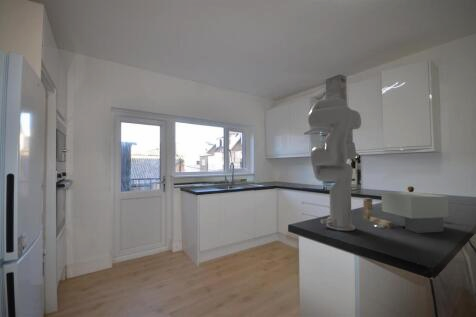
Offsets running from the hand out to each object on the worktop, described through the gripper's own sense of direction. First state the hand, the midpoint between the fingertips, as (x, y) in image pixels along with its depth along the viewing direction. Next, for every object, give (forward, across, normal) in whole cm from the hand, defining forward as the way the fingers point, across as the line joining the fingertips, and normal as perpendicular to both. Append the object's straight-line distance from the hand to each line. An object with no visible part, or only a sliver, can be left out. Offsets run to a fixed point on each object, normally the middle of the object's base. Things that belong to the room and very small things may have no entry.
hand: (346, 168), depth 127 cm
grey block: (+28, +18, -25) cm, 42 cm away
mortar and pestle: (+28, +36, -8) cm, 47 cm away
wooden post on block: (+28, +6, -16) cm, 33 cm away
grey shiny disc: (+29, +2, -21) cm, 36 cm away
